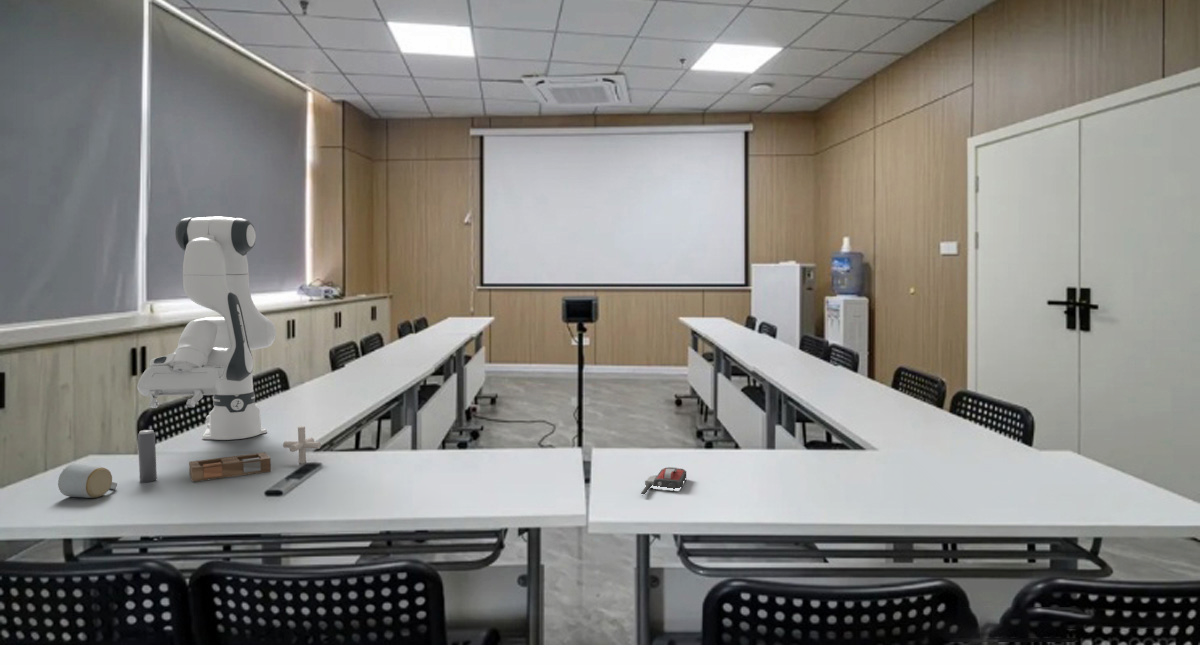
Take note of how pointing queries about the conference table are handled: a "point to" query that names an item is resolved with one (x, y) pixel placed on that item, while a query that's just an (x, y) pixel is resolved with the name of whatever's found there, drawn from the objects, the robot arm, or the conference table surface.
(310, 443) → the pipe connector
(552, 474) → the conference table surface
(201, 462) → the socket strip
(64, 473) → the ceramic mug
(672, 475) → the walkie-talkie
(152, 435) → the tall grey block
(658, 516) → the conference table surface
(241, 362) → the robot arm
